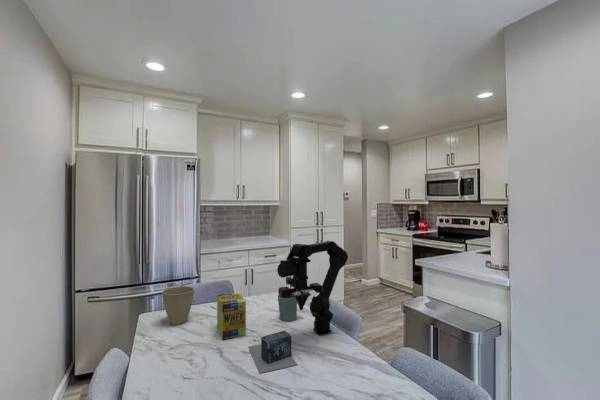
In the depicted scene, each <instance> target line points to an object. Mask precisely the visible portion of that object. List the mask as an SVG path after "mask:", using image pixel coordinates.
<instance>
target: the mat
mask: <svg viewBox="0 0 600 400" xmlns="http://www.w3.org/2000/svg"><path fill="white" fill-rule="evenodd" d="M247 348H248V349H249V352H250V355H251V357H252V359H253V362H254V364H255V366H256V369H257V371H258V374H260V375H261V374H265V373H270V372H273V371H274V372H275V371H278V370H283V369H287V368H292V367H296V366H298V363H297V361H296V360H295V359H294V356H289V357H286V358H283V359H280V360H278V361H275V362H272V363H269V364H267V363H266V362H265V361H264V360H263V359H262V358H261V343H260V344H255V345H250V346H249V345H248V347H247Z"/></svg>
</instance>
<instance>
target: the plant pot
mask: <svg viewBox="0 0 600 400" xmlns="http://www.w3.org/2000/svg"><path fill="white" fill-rule="evenodd" d="M161 294H162V299H163V301H162V302H163V306H164V309H165V310H164V311H165V313H166V315H167V318H168V322H169V323H170V325H173V326H179V325H182V324H185V323H186V322H187V321H188V317H189V315H190V313H191V312H190V311H191V309H192V304H193V300H194V294H195V287H193V286H189V285H188V286H185V285H183V286H182V285H181V286H175V287H169V288H166V289H164V290H163V291H162V292H161Z"/></svg>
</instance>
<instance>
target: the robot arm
mask: <svg viewBox="0 0 600 400" xmlns="http://www.w3.org/2000/svg"><path fill="white" fill-rule="evenodd" d="M322 252H326V253H327V255H328V256H329V257H328V262H329V267H328V270H327V272H326V275H325V277H324V280H323V283H322V284H320V283H318V282H311V283H310V284H309V286H308V280H309V276H308V263H311V261H312V260H311V259H310V257H311V256H312V255H313V254H317V253H322ZM348 259H349V255H348V252H347V251H346V250H344V249H343V248H342V247H341V246H339V245H338V244H337V243H336V242H335V241H332V240H326V241H322V242H317V243H316V242H315V243H310V244H306V243H305V244H303V243H295V244H293V245H292V247H291V249H290V252H289V253H288V255H287V257H286V259H285V260H284V259H283V260H280V262H279V264H278V267H277V268H276V269H277V274H278V276H279V277H280V278H285V284H286V285H289V287H288V286H282V287H279V288H278V290H277V294H278V295H280V296H281V297H283V298H284V297H290V296H291V295H293V296H294V297H295V298H296V300H297V307H298V308H299V311H303V310H304V306H305V305H306V303H307V300H308V298H309V297H310V296H311V292H310V291H314V292H315V293H318V295H316V296H315V295H313V297H312V299H311V302H310V303H309V305H310V306H309V310H310V313H311V316H312V317H314V321H313V331H315V333H316V334H317V335H319V336H323V335H327V334H332V333H333V332H332V330H331V320H333V317H334V314H333V312H331V311H330V306H331V303H330V297H331V294H332V292H333V288H334V286H335V284H336V280H337V278H338V275H339V272H340V270H341V269H342V268H343V267H344V266H345V265H346V263H347V261H348ZM291 276H292V277H291ZM290 287H292V288H290Z"/></svg>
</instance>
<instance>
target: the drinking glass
mask: <svg viewBox="0 0 600 400" xmlns="http://www.w3.org/2000/svg"><path fill="white" fill-rule="evenodd" d="M277 301H278V303H277V304H278V311H279V320H280V322H284V323H292V322H295V321H296V320H297V319H298V318H297V316H298V314H297V311H298V303H297V300H296V298H295V297H294V296H293V295H291V296H290V297H284V298H283V297H281V296H280V295H279V294H278V295H277Z"/></svg>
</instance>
